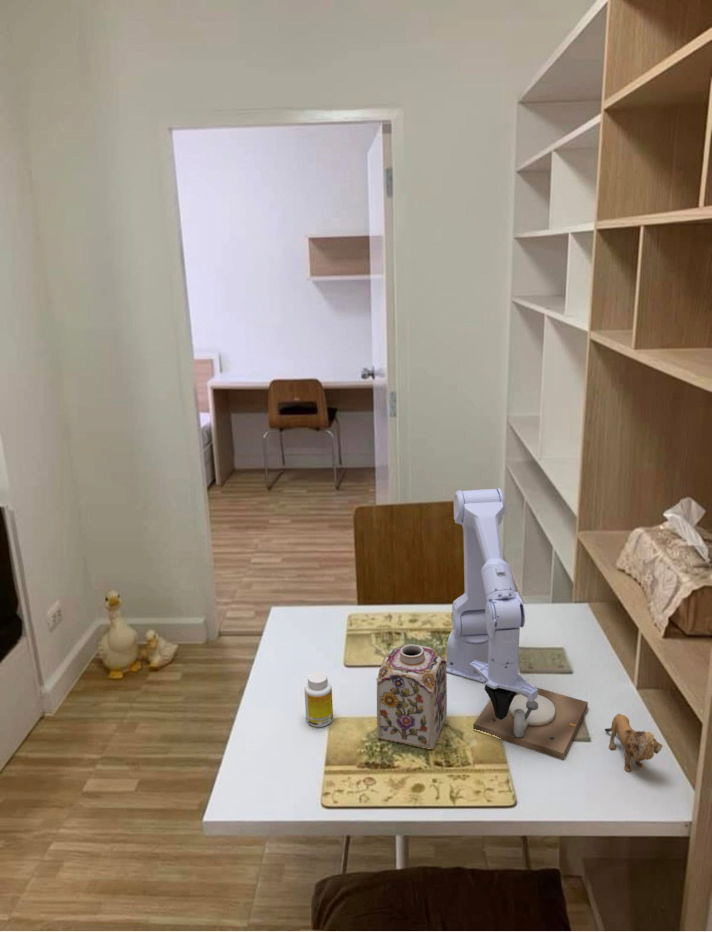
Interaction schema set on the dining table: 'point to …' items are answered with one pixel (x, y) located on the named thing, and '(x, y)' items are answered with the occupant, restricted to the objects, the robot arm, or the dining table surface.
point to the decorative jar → (412, 695)
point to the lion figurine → (633, 742)
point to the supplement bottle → (318, 700)
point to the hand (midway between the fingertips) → (501, 716)
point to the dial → (530, 713)
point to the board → (543, 737)
